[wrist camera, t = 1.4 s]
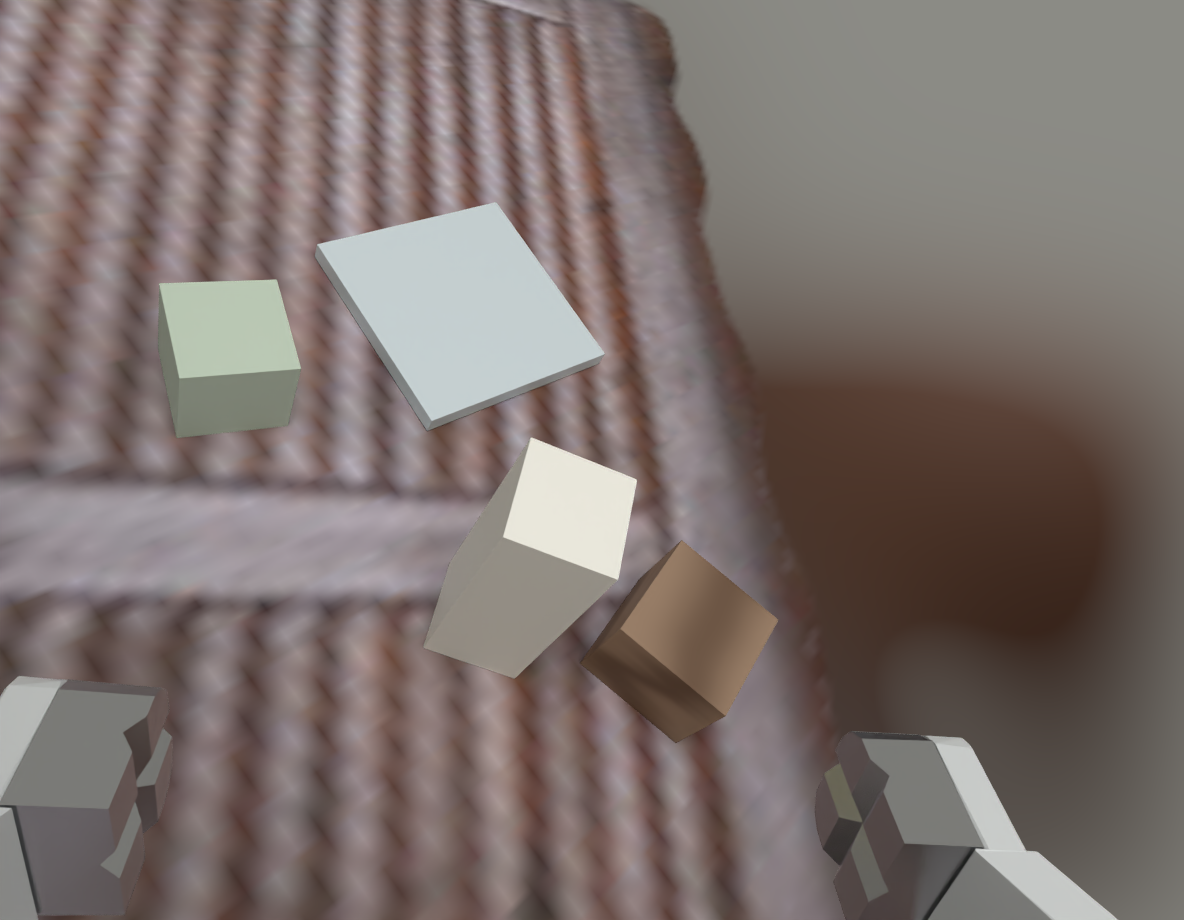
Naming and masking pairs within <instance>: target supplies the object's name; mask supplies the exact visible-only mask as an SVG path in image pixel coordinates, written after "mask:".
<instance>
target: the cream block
mask: <svg viewBox="0 0 1184 920" xmlns="http://www.w3.org/2000/svg"><path fill="white" fill-rule="evenodd" d="M636 483H637V479H634V478H632V477H629V476H627V475H624V474H622V473H619V472H617V471H614V470H612V469H609V468H607V467H604V466H602V465H599V464H596V463H594V462H591V461H589V460H586V459H584V458H581V457H579V456H576V455H574V454H571V453H569V452H566V451H564V450H561V449H559V448H556V447H554V446H551V445H549V444H546V443H544V442H541V441H539V440H536V439H534V438H530V440H529V441H528V443H527V444H526V446H525V447H524V449H523V451H522V452H521V454H520V455H519V457H518V458H517V460H516V461H515V463H514V464H513V466H512V468H511V469H510V471H509V472H508V474H507V475H506V477H505V478H504V480H503V481H502V483H501V485H500V486H499V488H498V489H497V491H496V492H495V494H494V495H493V497H492V498H491V500H490V501H489V503H488V505H487V506H486V508H485V509H484V511H483V512H482V514H481V515H480V517H479V518H478V520H477V522H476V523H475V525H474V526H473V528H472V529H471V531H470V532H469V534H468V535H467V537H466V539H465V540H464V542H463V543H462V545H461V546H460V548H459V549H458V551H457V552H456V554H455V555H454V557H453V559H452V560H451V562H450V564H449V567H448V570H447V573H446V576H445V579H444V583H443V586H442V589H441V592H440V595H439V599H438V602H437V605H436V608H435V611H434V614H433V618H432V621H431V624H430V627H429V630H428V633H427V637H426V640H425V643H424V646H423V648H425V649H428V650H431V651H434V652H437V653H440V654H443V655H446V656H449V657H452V658H454V659H457V660H460V661H463V662H466V663H469V664H472V665H475V666H478V667H481V668H484V669H487V670H490V671H493V672H496V673H499V674H502V675H505V676H508V677H511V678H514V679H515V678H516V677H517V676H518V675H519V674H520V673H521V672H522V671H523V670H524V669H525V668H526V667H527V666H528V665H529V664H530V663H531V662H533V661H534V660H535V659H536V658H537V657H538V656H539V655H540V654H541V653H542V652H543V651H544V650H545V649H546V648H547V647H548V646H549V645H550V644H551V643H552V642H553V641H555V640H556V639H557V638H558V637H559V636H560V635H561V634H562V633H563V632H564V631H565V630H566V629H567V628H568V627H569V626H570V625H571V624H572V623H573V622H574V621H575V620H577V619H578V618H579V617H580V616H581V615H582V614H583V613H584V612H585V611H586V610H587V609H588V608H589V607H590V606H591V605H592V604H593V603H594V602H595V601H596V600H597V599H599V598H600V597H601V596H602V595H603V594H604V593H605V592H606V591H607V590H608V589H609V588H610V587H611V586H612V585H613V584H614V583H615V582H616V581H617V580H618V577H619V572H620V567H621V562H622V556H623V551H624V546H625V541H626V535H627V530H628V525H629V520H630V514H631V509H632V504H633V498H634V493H635V488H636Z"/></svg>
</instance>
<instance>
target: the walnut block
mask: <svg viewBox="0 0 1184 920" xmlns="http://www.w3.org/2000/svg"><path fill="white" fill-rule="evenodd" d="M777 621H778V619H777V618H775V617H774V616H773V615H772V614H771V613H769V612H768V611H767V610H766V609H765V608H763V607H762V606H761V605H760V604H758V603H757V602H756V601H755V600H754V599H752V598H751V597H750V596H749V595H748V594H746V593H745V592H744V591H743V590H741V589H740V588H739V587H738V586H737V585H735V584H734V583H733V582H732V581H731V580H729V579H728V578H727V577H726V576H725V575H723V574H722V573H721V572H720V571H718V570H717V569H716V568H715V567H714V566H712V565H711V564H710V563H709V562H708V561H706V560H705V559H704V558H703V557H701V556H700V555H699V554H698V553H697V552H695V551H694V550H693V549H692V548H691V547H689V546H688V545H687V544H686V543H684V542H683V541H680V542H679V543H678V544H677V545H676V546H675V547H674V548H673V549H672V550H671V551H670V552H668V553H667V554H666V555H665V556H664V557H663V558H662V559H661V560H660V561H659V562H658V563H656V564H655V565H654V566H653V567H652V568H651V569H650V570H649V571H648V572H647V573H646V574H644V575H643V576H642V577H641V578H640V579H639V580H638V582H637V583H636V585H635V586H634V588H633V589H632V590H631V592H630V593H629V595H628V596H627V597H626V599H625V600H624V602H623V603H622V605H621V606H620V607H619V609H618V610H617V612H616V613H615V614H614V616H613V617H612V619H611V620H610V621H609V623H608V624H607V626H606V627H605V629H604V630H603V631H602V633H601V634H600V636H599V637H598V638H597V640H596V641H595V643H594V644H593V646H592V647H591V648H590V650H589V651H588V653H587V654H586V655H585V657H584V658H583V660H582V661H581V663H580V664H581V665H582V666H584V667H585V668H586V669H587V670H589V671H590V672H591V673H592V674H593V675H595V676H596V677H597V678H598V679H599V680H601V681H602V682H603V683H604V684H605V685H607V686H608V687H609V688H610V689H611V690H613V691H614V692H615V693H616V694H617V695H619V696H620V697H621V698H622V699H623V700H625V701H626V702H627V703H628V704H629V705H631V706H632V707H633V708H634V709H635V710H637V711H638V712H639V713H640V714H641V715H643V716H644V717H645V718H646V719H647V720H649V721H650V722H651V723H652V724H653V725H655V726H656V727H657V728H658V729H659V730H661V731H662V732H663V733H664V734H665V735H667V736H668V737H669V738H670V739H671V740H673V741H674V742H675V743H677V742H679V741H681V740H682V739H684V738H686V737H688V736H690V735H692V734H693V733H695V732H697V731H699V730H701V729H703V728H705V727H706V726H708V725H710V724H712V723H714V722H716V721H717V720H719V719H721V718H723V717H725V716H726V714H727V713H728V711H729V709H730V707H731V705H732V703H733V702H734V700H735V698H736V696H737V694H738V693H739V691H740V689H741V687H742V685H743V683H744V682H745V680H746V678H747V676H748V674H749V672H750V671H751V669H752V667H753V665H754V663H755V662H756V660H757V658H758V656H759V654H760V652H761V651H762V649H763V647H764V645H765V643H766V641H767V640H768V638H769V636H770V634H771V632H772V631H773V629H774V627H775V625H776V623H777Z"/></svg>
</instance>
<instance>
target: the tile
mask: <svg viewBox="0 0 1184 920" xmlns="http://www.w3.org/2000/svg"><path fill="white" fill-rule="evenodd" d="M315 258H316V259H317V261H318V263H319V264H320V266H321V267H322V269H323V270H324V272H325V273H326V275H327V277H328V278H329V280H330V281H331V283H332V284H333V286H334V287H335V289H336V290H337V292H338V294H339V295H340V297H341V298H342V300H343V301H344V303H345V304H346V306H347V308H348V309H349V311H350V312H351V314H352V315H353V317H354V318H355V320H356V321H357V323H358V325H359V326H360V328H361V329H362V331H363V332H364V334H365V335H366V337H367V339H368V340H369V342H370V343H371V345H372V346H373V348H374V349H375V351H376V353H377V354H378V356H379V357H380V359H381V360H382V362H383V363H384V365H385V366H386V368H387V370H388V371H389V373H390V374H391V376H392V377H393V379H394V380H395V382H396V384H397V385H398V387H399V388H400V390H401V391H402V393H403V394H404V396H405V397H406V399H407V401H408V402H409V404H410V405H411V407H412V408H413V410H414V411H415V413H416V415H417V416H418V418H419V419H420V421H421V422H422V424H423V425H424V427H425V428H426V430H427V431H428V430H431V429H433V428H436V427H438V426H441V425H444V424H446V423H449V422H451V421H454V420H456V419H459V418H461V417H464V416H467V415H469V414H472V413H474V412H477V411H479V410H482V409H484V408H487V407H489V406H492V405H495V404H497V403H500V402H502V401H505V400H507V399H510V398H512V397H515V396H518V395H520V394H523V393H525V392H528V391H530V390H533V389H535V388H538V387H541V386H543V385H546V384H548V383H551V382H553V381H556V380H558V379H561V378H563V377H566V376H569V375H571V374H574V373H576V372H579V371H581V370H584V369H586V368H589V367H592V366H594V365H597V364H599V362H600V361H601V359H602V358H603V356H604V355H605V354H604V352H603V351H602V349H601V348H600V347H599V345H598V344H597V342H596V341H595V340H594V338H593V337H592V335H591V334H590V333H589V331H588V330H587V328H586V327H585V326H584V324H583V323H582V321H581V320H580V319H579V317H578V316H577V315H576V313H575V312H574V310H573V309H572V308H571V306H570V305H569V303H568V302H567V301H566V299H565V298H564V296H563V295H562V294H561V292H560V291H559V289H558V288H557V287H556V285H555V284H554V282H553V281H552V280H551V278H550V277H549V275H548V274H547V273H546V271H545V270H544V269H543V267H542V266H541V264H540V263H539V262H538V260H537V259H536V257H535V256H534V255H533V253H532V252H531V250H530V249H529V248H528V246H527V245H526V243H525V242H524V241H523V239H522V238H521V236H520V235H519V234H518V232H517V231H516V229H515V228H514V227H513V225H512V224H511V223H510V221H509V220H508V218H507V217H506V216H505V214H504V213H503V211H502V210H501V209H500V207H499V206H498V204H497V203H496V202H495V203H491V204H487V205H483V206H478V207H474V208H470V209H466V210H461V211H457V212H453V213H449V214H445V215H440V216H436V217H432V218H428V219H423V220H419V221H415V222H411V223H406V224H402V225H398V226H394V227H389V228H385V229H381V230H377V231H372V232H368V233H364V234H360V235H356V236H351V237H347V238H343V239H339V240H334V241H330V242H326V243H322V244H317V249H316V253H315Z"/></svg>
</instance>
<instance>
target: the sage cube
mask: <svg viewBox="0 0 1184 920" xmlns="http://www.w3.org/2000/svg"><path fill="white" fill-rule="evenodd" d="M158 351H159V356H160V361H161V365H162V370H163V375H164V380H165V385H166V390H167V395H168V399H169V404H170V409H171V414H172V419H173V424H174V428H175V433H176V438H182V437H191V436H200V435H209V434H218V433H227V432H236V431H246V430H255V429H264V428H273V427H282V426H288V423H289V418H290V414H291V410H292V405H293V401H294V397H295V393H296V388H297V384H298V380H299V375H300V371H301V367H300V363H299V360H298V356H297V352H296V349H295V345H294V341H293V338H292V334H291V330H290V327H289V323H288V319H287V316H286V312H285V308H284V305H283V301H282V297H281V294H280V290H279V286H278V283H277V280H253V281H221V282H190V283H159V324H158Z"/></svg>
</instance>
